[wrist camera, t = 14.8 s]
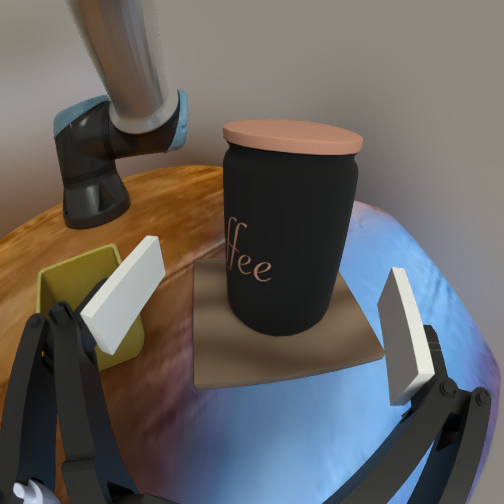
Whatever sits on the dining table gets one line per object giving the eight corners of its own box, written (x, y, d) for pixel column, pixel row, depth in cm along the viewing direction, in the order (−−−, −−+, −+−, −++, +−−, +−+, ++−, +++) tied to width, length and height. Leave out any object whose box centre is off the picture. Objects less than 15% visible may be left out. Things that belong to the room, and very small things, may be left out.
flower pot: (70, 331, 25) (37, 269, 20) (135, 306, 29) (114, 240, 24) (84, 394, 19) (35, 332, 14) (163, 362, 23) (137, 293, 18)
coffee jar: (223, 276, 33) (217, 119, 23) (308, 268, 34) (327, 122, 24) (235, 349, 24) (230, 139, 14) (342, 331, 26) (392, 148, 16)
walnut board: (195, 265, 36) (194, 259, 35) (324, 256, 38) (325, 250, 38) (196, 389, 21) (194, 384, 21) (381, 358, 24) (385, 353, 23)
